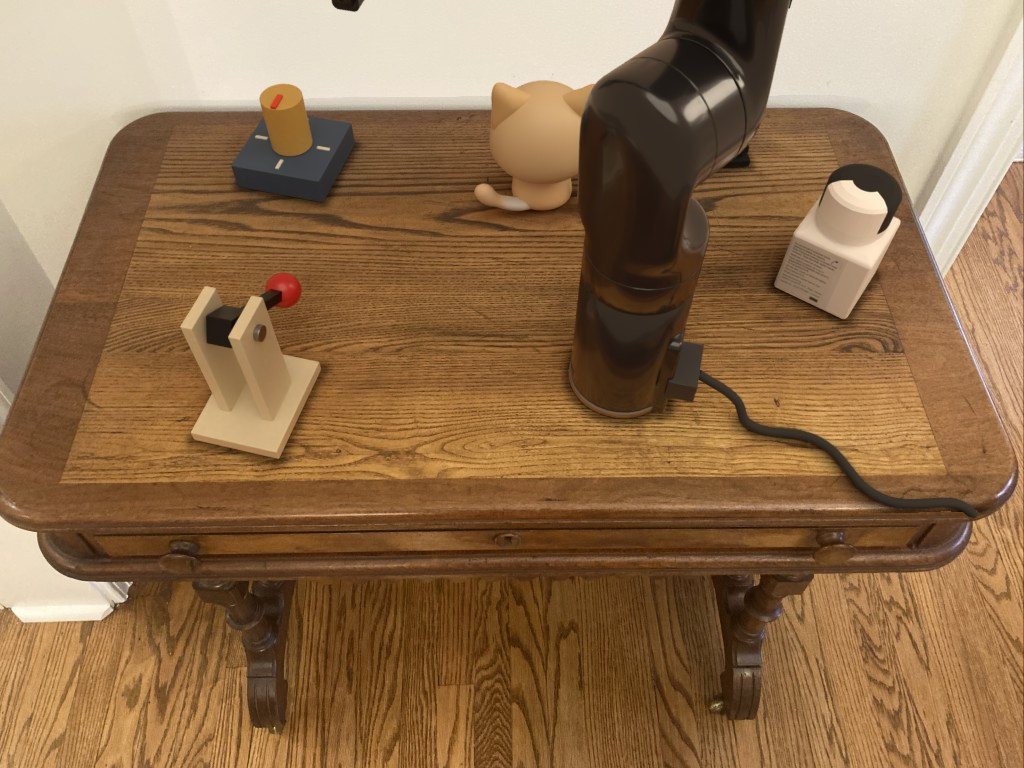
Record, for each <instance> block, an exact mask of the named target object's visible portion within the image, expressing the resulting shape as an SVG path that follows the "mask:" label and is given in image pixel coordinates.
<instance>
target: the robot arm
mask: <svg viewBox="0 0 1024 768" xmlns="http://www.w3.org/2000/svg"><path fill="white" fill-rule="evenodd" d="M364 2H365V0H331V4H332V6H333V8H335V9H336V10H340V11H348V12H353V13H355V12H358V11H359V10H360V8H361V6H362V5H363V3H364ZM789 4H790V0H674V4H673V8H672V10H671V13H670V16H669V19H668V22H667V25H666V27H665V29H664V31H663V32H662V34H661V36H660V37H659V39H658V40H657V41H655V42H654V43H653V44H651V45H650V46H648V47H646V48H645V49H643V50H642V51H640V52H638V53H637V54H636V55H634V56H632V57H630V58H629V59H627V60H626V61H624V62H622V63H621V64H620V65H618V66H617V67H615V68H614V69H611V70H610V71H609V72H608V73H606V74H605V75H603V76H601V78H600V79H598V80H597V81H596V82H595V83H594V84H595V85H594V86H593V87H592V89H591V90H590V92H589V94H588V96H587V99H586V101H585V104H584V108H583V112H582V117H581V123H580V133H579V161H578V174H577V207H578V212H579V217H580V221H581V224H582V226H583V229H584V238H583V245H582V246H583V248H582V257H581V264H580V274H579V282H578V283H579V284H578V293H577V301H576V309H575V320H574V329H573V337H572V348H571V353H570V359H569V365H568V366H569V367H568V381H569V384H570V387H571V389H572V391H573V393H574V395H575V396H576V397H577V398H578V400H579V401H580V402H581V403H582V404H583V405H584V406H585V407H588V408H589V409H590V410H592V411H594V412H596V413H597V414H600V415H603V416H604V417H605V416H606V417H610V418H616V419H631V418H638V417H641V416H644V415H647V414H648V413H650V412H656V413H664V412H665V410H666V407H667V403H668V400H669V399H673V400H677V401H678V400H679V401H683V402H689V403H693V402H694V400H695V397H696V393H697V390H698V388H699V387H698V386H699V382H701V383H703V384H705V385H706V386H708V387H710V388H711V389H713V390H715V391H717V392H719V393H720V394H721V395H723V396H724V397H725V398H727V399H728V400H729V401H730V402H731V403H732V404H733V406H734V407H735V410H736V415H737V418H738V420H739V421H740V423H741V424H742V426H743V427H745V428H747V429H748V430H750V431H751V432H753V433H755V434H758V435H762V436H765V437H772V438H781V439H792V440H799V441H805V442H807V443H811V444H813V445H815V446H817V447H818V448H820V449H821V450H823V451H824V452H825V453H827V454H828V455H829V456H830V457H831V458H832V459H833V461H834V462H835V463H836V464H837V465H838V467H839V468H840V469H841V471H842V472H843V473H844V474H845V476H846V477H847V478H848V479H849V480H850V482H851V483H852V484H853V485H854V486H855V487H856V488H857V489H858V490H859V491H860V492H861V493H863V494H864V495H865V496H866V497H868V498H869V499H871V500H873V501H875V502H876V503H878V504H882V505H885V506H887V507H891V508H895V509H896V508H897V509H903V510H924V509H938V508H939V509H941V508H944V509H945V508H946V509H954V510H959V511H960V512H962V513H964V515H965V516H967V517H968V518H971V519H977V517H978V516H979V515H978V512H977V510H976V509H975V508H974V507H973V506H972V505H971V504H969V503H967V502H966V501H964V500H963V499H959V498H955V497H926V498H902V497H901V498H900V497H895V496H892V495H889V494H885V493H883V492H880V491H879V490H878V489H876V488H874V487H873V486H871V485H870V484H869V483H868V482H867V481H865V479H864V478H862V476H861V475H860V474H859V473H858V472H857V470H856V469H855V468H854V467H853V465H852V464H851V463H850V461H849V460H848V459H847V458H846V457H845V455H844V454H843V453H842V452H841V451H840V450H839V449H838V448H837V447H836V446H835V445H833V444H832V443H831V442H830V441H828V440H827V439H825V438H823V437H822V436H819V435H818V434H815V433H813V432H810V431H806V430H801V429H796V428H782V427H774V426H773V427H772V426H767V425H763V424H760V423H758V422H756V421H754V420H753V419H752V418H750V417H749V415H748V412H747V408H746V404H745V403H744V401H743V399H742V398H741V396H739V394H738V393H736V392H735V391H734V390H733V389H732V388H731V387H729V386H728V385H727V384H726V383H723V382H722V381H720V380H719V379H717V378H715V377H713V376H712V375H710V374H708V373H706V372H705V371H704V370H702V369H701V366H702V360H703V354H704V349H705V346H704V344H698V343H693V342H689V341H684V340H685V335H686V334H685V333H686V328H687V322H688V318H689V314H690V311H691V307H692V304H693V300H694V297H695V293H696V290H697V285H698V282H699V278H700V274H701V272H702V271H701V270H702V267H703V264H704V260H705V256H706V253H707V249H708V247H709V242H710V236H711V225H710V219H709V217H708V214H707V212H706V211H705V209H704V207H703V206H702V205H701V203H700V202H699V201H698V200H697V199H696V198H695V197H694V196H693V194H694V192H695V189H697V188H698V187H699V186H700V185H702V184H703V183H704V182H706V180H708V179H710V178H711V177H712V176H713V175H715V174H716V173H717V172H718V171H720V170H721V169H723V168H722V167H724V166H725V165H726V164H727V163H729V162H730V161H731V160H732V159H734V158H735V157H736V156H738V155H739V154H740V153H741V152H742V151H743V150H744V149H745V148H746V146H747V145H749V144H750V142H751V141H752V140H753V138H754V137H755V135H756V134H757V132H758V130H759V129H760V126H761V124H762V121H763V118H764V116H765V112H766V109H767V107H768V102H769V99H770V94H771V90H772V87H773V85H772V84H773V81H774V77H775V71H776V67H777V62H778V57H779V53H780V48H781V44H782V39H783V34H784V30H785V25H786V20H787V17H788V12H789V9H788V8H789Z"/></svg>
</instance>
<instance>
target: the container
mask: <svg viewBox="0 0 1024 768" xmlns="http://www.w3.org/2000/svg"><path fill="white" fill-rule="evenodd" d="M902 201H903V190H902V187H901V186H900V183H899V182H898V181H897V179H896V178H895V177H894V176H893V175H892V174H890V173H889V172H888V171H886V170H884V169H882V168H880V167H878V166H875V165H872V164H868V163H850V164H846V165H843V166H840V167H838V168H836V169H835V170H834V171H833V172H831V174H830V175H829V177H828V179H827V181H826V183H825V186H824V189H823V192H822V193H821V194H820V196H819V197H818V199H816V201H815V203H814V204H813V205H812V207H811V208H810V210H809V211H808V212H807V214H806V215H805V217H804V218H803V219H802V221H801V222H800V223H799V225H798V226H797V227H796V229H795V230H794V232H793V234H792V236H791V239H790V241H789V244H788V246H787V249H786V252H785V254H784V257H783V260H782V263H781V265H780V266H779V270H778V272H777V276H776V278H775V280H774V287H775V288H776V289H778V290H780V291H783V292H785V293H787V294H789V295H791V296H793V297H795V298H797V299H800V300H801V301H803V302H805V303H808V304H810V305H812V306H814V307H816V308H818V309H820V310H822V311H825V312H826V313H828V314H831V315H833V316H835V317H837V318H839V319H841V320H846V319H847V318H848V317H849V315H850V314H851V312H852V311H853V309H854V307H856V304H857V302H858V301H859V299H860V298H861V296H862V295H863V294H864V292H865V290H866V289H867V287H868V285H869V283H870V282H871V280H872V279H873V277H874V276H875V274H876V272H877V270H878V268H879V266H880V264H881V262H882V261H883V259H884V257H885V254H886V252H887V251H888V249H889V247H890V245H891V243H892V241H893V239H894V237H895V235H896V233H897V231H898V229H899V227H900V226H901V220H900V218H898V217H896V216H895V215H896V213H897V211H898V209H899V207H900V205H901V203H902Z"/></svg>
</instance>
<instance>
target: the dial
mask: <svg viewBox="0 0 1024 768" xmlns="http://www.w3.org/2000/svg"><path fill="white" fill-rule="evenodd" d="M259 104H260V107H261V112H262V115H263V116H264V119H265V123H266V126H267V130H268V134H269V137H270V141H271V145H272V148H273V150H274V151H275V152H276V153H278V154H280V155H283V156H297V155H300V154H303V153H305V152H306V151H308V150H309V149H310V147H311V146H312V143H313V140H312V135H311V131H310V126H309V122H308V117H307V116H308V113H307V109H306V105H305V99H304V94H303V91H302V90H301V89H300V88H299V87H298V86H296V85H293V84H290V83H279V84H278V83H277V84H274V85H270V86H268V87H267V88H265V89H264V90H263V91H262V92H261V93H260V95H259Z"/></svg>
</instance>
